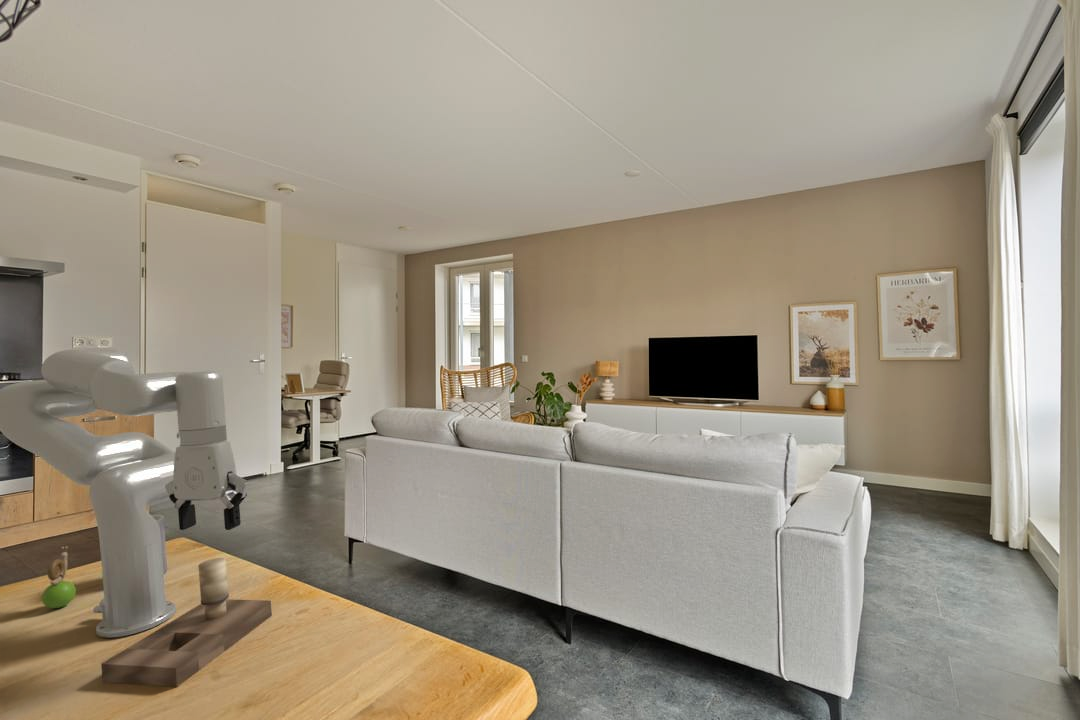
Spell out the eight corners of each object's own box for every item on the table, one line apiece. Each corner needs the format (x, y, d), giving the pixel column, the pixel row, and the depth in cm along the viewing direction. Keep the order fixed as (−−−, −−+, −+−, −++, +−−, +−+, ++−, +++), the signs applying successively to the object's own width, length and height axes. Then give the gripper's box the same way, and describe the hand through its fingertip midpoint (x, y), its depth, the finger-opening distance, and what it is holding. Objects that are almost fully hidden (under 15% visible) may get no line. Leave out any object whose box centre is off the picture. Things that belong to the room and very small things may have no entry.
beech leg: (196, 620, 98) (192, 567, 98) (215, 608, 102) (211, 557, 102) (217, 621, 97) (213, 567, 97) (235, 609, 102) (231, 557, 101)
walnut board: (102, 682, 85) (101, 663, 85) (210, 613, 107) (209, 598, 107) (177, 686, 83) (175, 668, 83) (271, 615, 105) (270, 600, 104)
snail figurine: (84, 596, 119) (79, 544, 118) (68, 609, 113) (64, 554, 112) (54, 601, 117) (49, 548, 117) (37, 615, 111) (32, 558, 111)
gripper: (146, 442, 97) (153, 534, 97) (228, 439, 94) (236, 534, 94) (180, 435, 104) (187, 521, 105) (258, 432, 101) (264, 520, 102)
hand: (210, 527), depth 99 cm, fingers open, 9 cm apart
